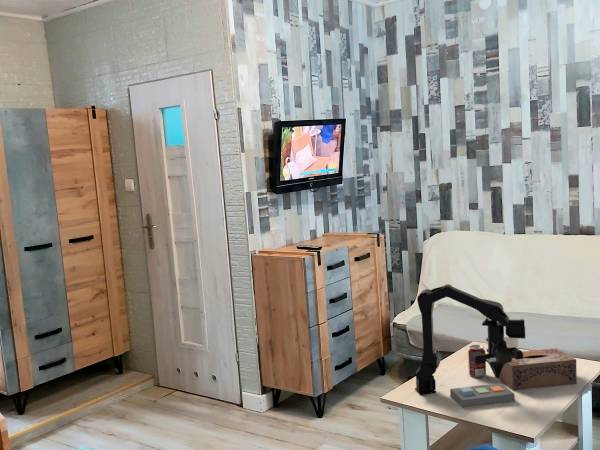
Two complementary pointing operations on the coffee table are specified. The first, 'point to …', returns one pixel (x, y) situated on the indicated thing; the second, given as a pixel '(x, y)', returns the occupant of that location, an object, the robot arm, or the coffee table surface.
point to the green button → (481, 390)
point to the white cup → (511, 341)
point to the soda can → (476, 369)
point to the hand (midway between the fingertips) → (497, 378)
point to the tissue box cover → (539, 370)
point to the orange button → (496, 389)
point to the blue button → (466, 391)
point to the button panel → (482, 396)
